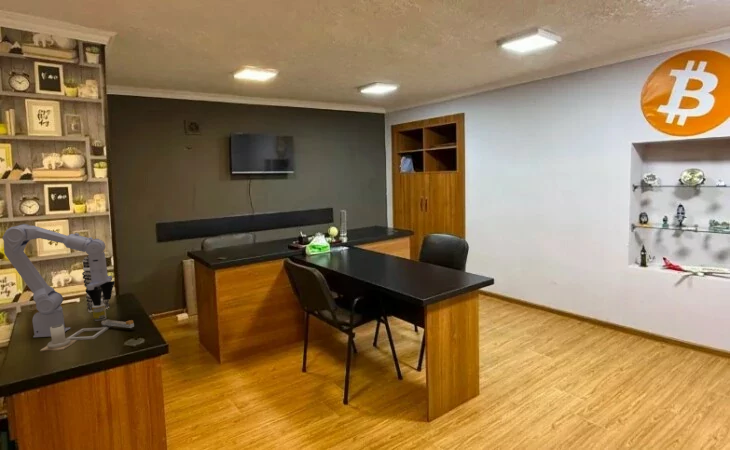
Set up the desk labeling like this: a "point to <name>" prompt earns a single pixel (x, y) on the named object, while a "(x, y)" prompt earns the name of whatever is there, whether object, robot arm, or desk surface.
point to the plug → (58, 337)
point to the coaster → (58, 348)
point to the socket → (88, 336)
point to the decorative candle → (87, 281)
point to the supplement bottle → (99, 311)
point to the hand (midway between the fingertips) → (102, 302)
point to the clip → (118, 323)
